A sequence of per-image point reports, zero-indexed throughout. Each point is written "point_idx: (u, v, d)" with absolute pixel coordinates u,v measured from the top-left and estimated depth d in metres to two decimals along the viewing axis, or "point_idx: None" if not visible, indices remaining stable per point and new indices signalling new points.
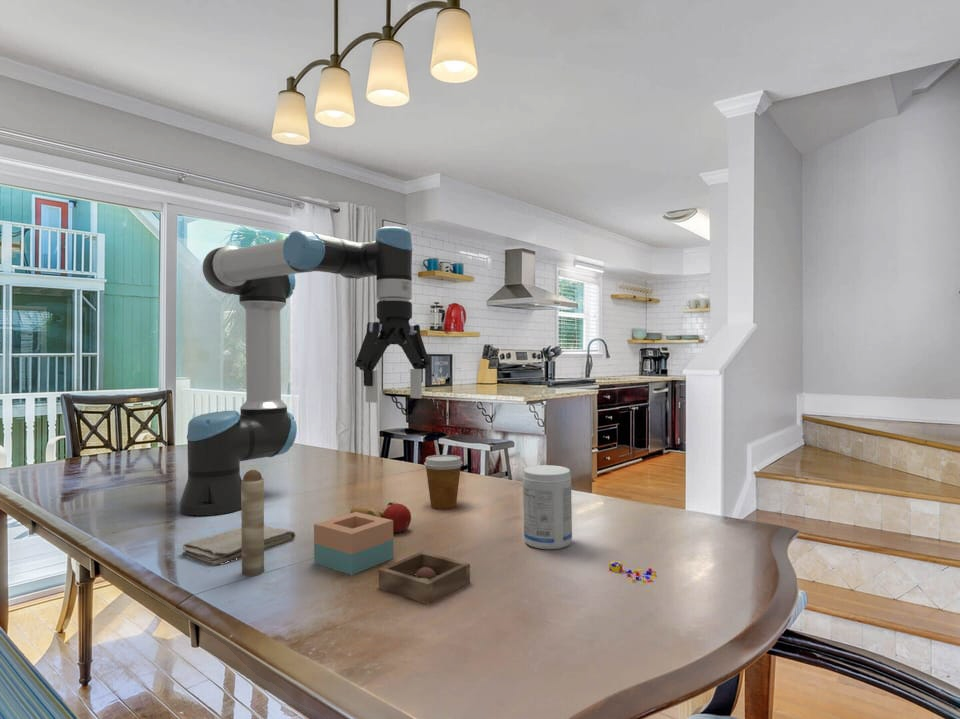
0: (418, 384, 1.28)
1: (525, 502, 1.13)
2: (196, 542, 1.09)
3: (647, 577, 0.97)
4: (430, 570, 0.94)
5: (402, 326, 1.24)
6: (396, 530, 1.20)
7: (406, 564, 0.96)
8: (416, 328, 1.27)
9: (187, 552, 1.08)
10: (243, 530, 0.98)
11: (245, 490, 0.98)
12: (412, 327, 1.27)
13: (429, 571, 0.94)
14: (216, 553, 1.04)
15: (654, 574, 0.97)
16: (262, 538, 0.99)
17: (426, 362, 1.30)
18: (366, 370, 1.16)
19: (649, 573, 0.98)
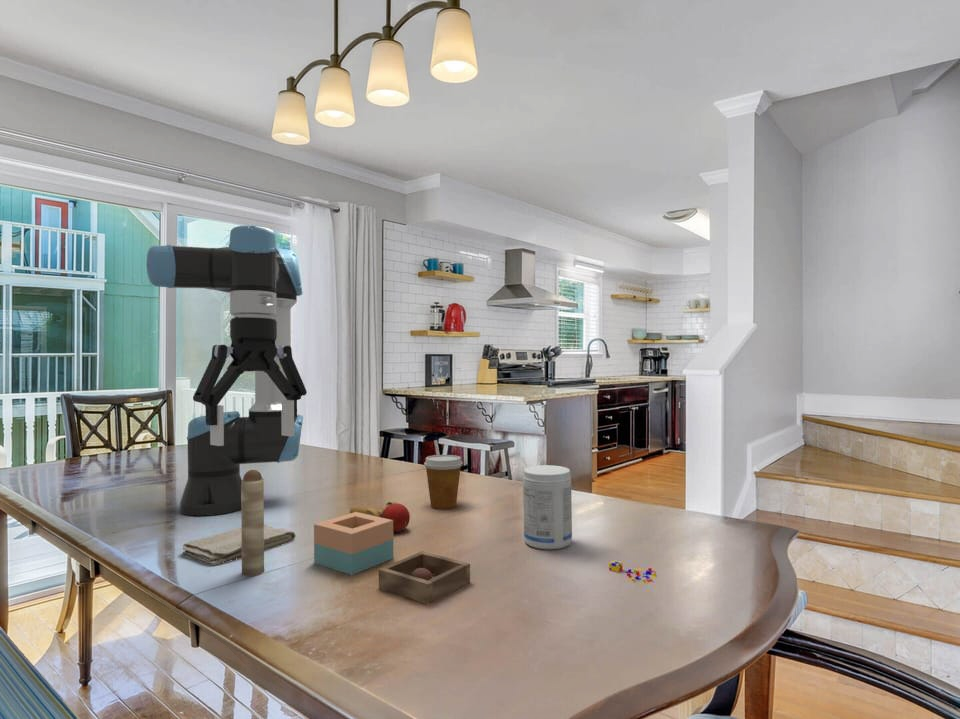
0: (289, 419, 1.04)
1: (525, 502, 1.13)
2: (196, 542, 1.09)
3: (647, 577, 0.97)
4: (426, 571, 0.94)
5: (264, 348, 1.00)
6: (395, 529, 1.21)
7: (406, 564, 0.96)
8: (287, 350, 1.04)
9: (187, 552, 1.08)
10: (243, 530, 0.98)
11: (244, 490, 0.98)
12: (281, 349, 1.04)
13: (425, 572, 0.94)
14: (215, 553, 1.04)
15: (654, 574, 0.97)
16: (262, 538, 0.99)
17: (301, 391, 1.06)
18: (208, 405, 0.93)
19: (649, 573, 0.98)
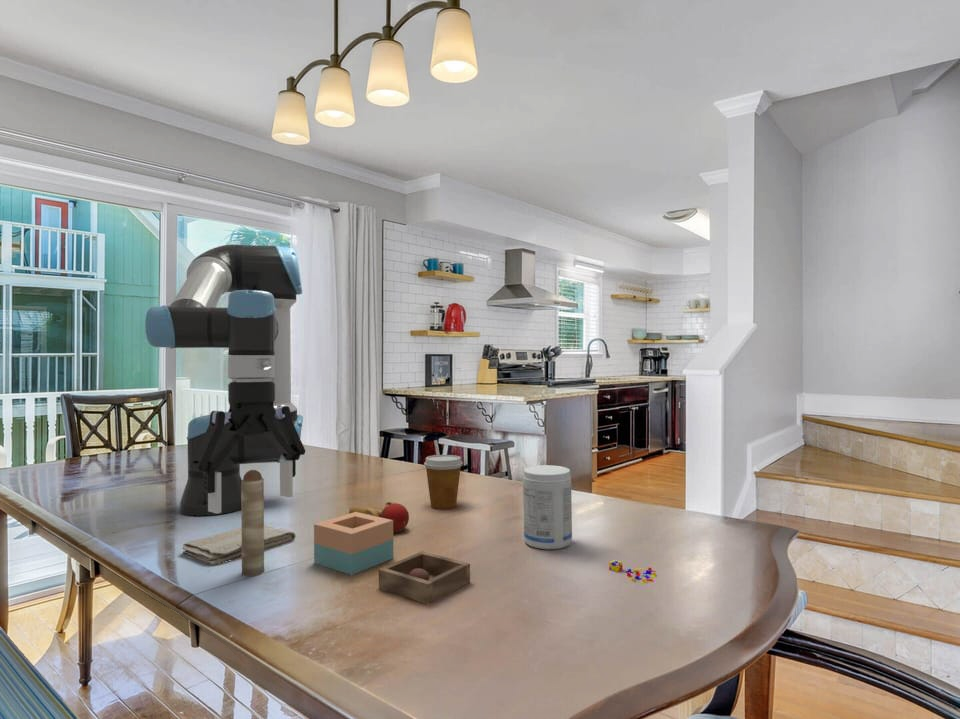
0: (288, 480, 1.04)
1: (525, 502, 1.13)
2: (196, 542, 1.09)
3: (647, 576, 0.97)
4: (423, 571, 0.94)
5: (262, 411, 1.00)
6: (394, 529, 1.21)
7: (406, 564, 0.96)
8: (285, 411, 1.03)
9: (187, 551, 1.08)
10: (243, 530, 0.98)
11: (244, 490, 0.98)
12: (279, 410, 1.03)
13: (423, 572, 0.94)
14: (214, 553, 1.04)
15: (654, 573, 0.97)
16: (262, 538, 0.99)
17: (300, 451, 1.06)
18: (205, 473, 0.92)
19: (649, 572, 0.98)
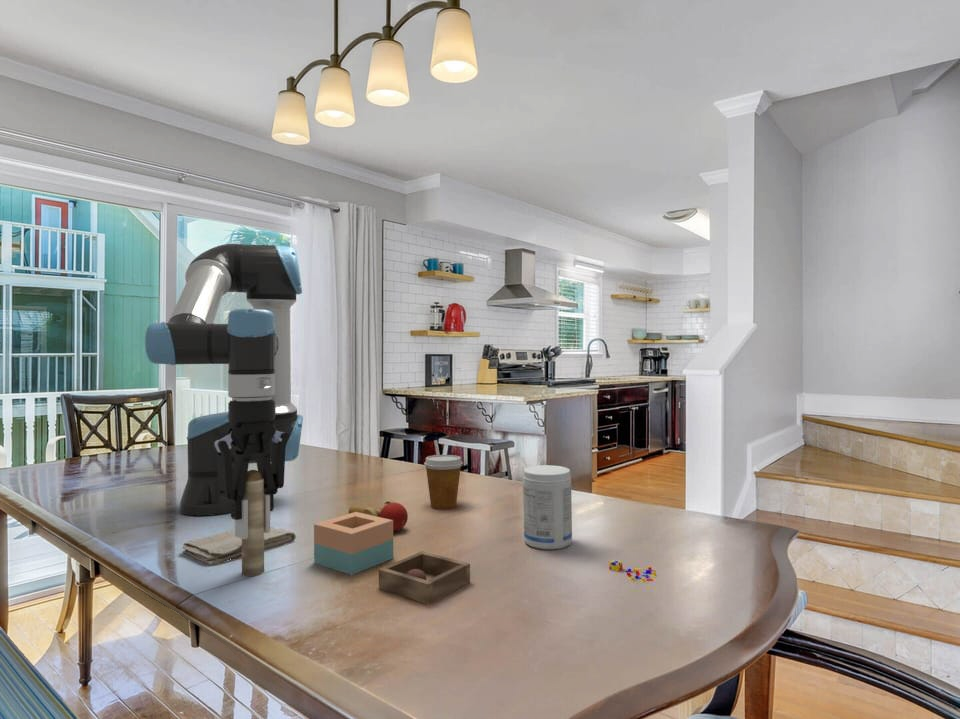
0: (265, 515, 1.00)
1: (525, 502, 1.13)
2: (196, 541, 1.10)
3: (647, 576, 0.97)
4: (420, 572, 0.94)
5: (264, 424, 1.00)
6: (393, 528, 1.21)
7: (406, 564, 0.96)
8: (284, 436, 1.03)
9: (186, 551, 1.08)
10: None
11: None
12: (279, 433, 1.03)
13: (420, 573, 0.93)
14: (212, 553, 1.04)
15: (654, 573, 0.98)
16: (262, 538, 0.99)
17: (279, 483, 1.03)
18: (233, 501, 0.96)
19: (649, 572, 0.98)
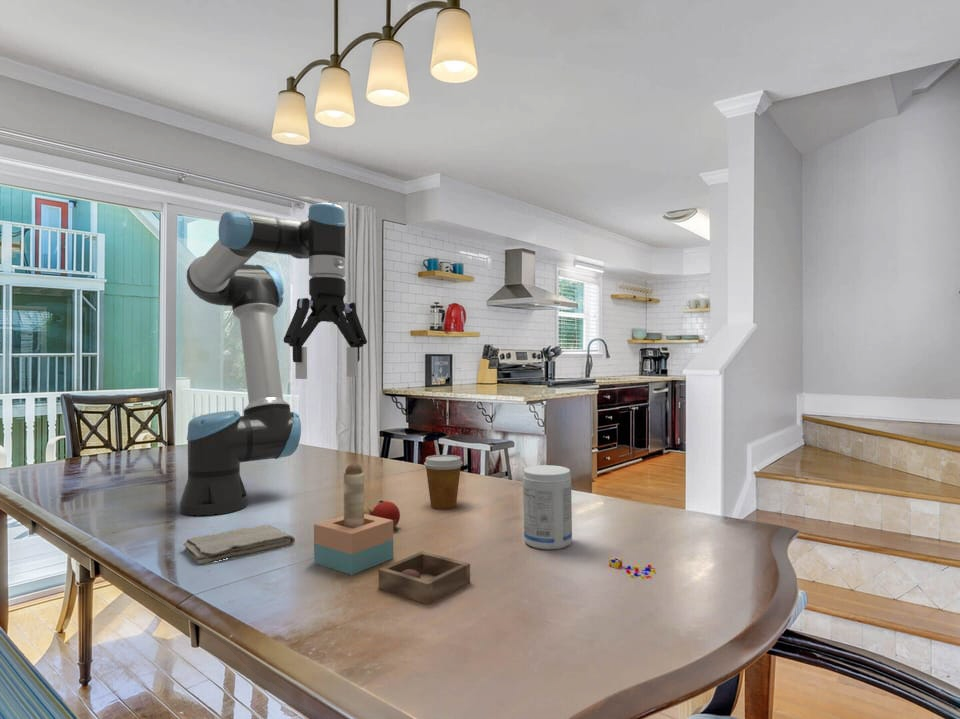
0: (354, 362, 1.27)
1: (525, 502, 1.13)
2: (197, 539, 1.11)
3: (646, 573, 0.98)
4: (415, 571, 0.94)
5: (335, 303, 1.23)
6: None
7: (406, 564, 0.96)
8: (352, 306, 1.27)
9: (187, 548, 1.10)
10: (346, 520, 1.04)
11: (348, 483, 1.03)
12: (347, 305, 1.27)
13: (415, 572, 0.94)
14: (202, 552, 1.04)
15: (653, 570, 0.99)
16: None
17: (363, 341, 1.29)
18: (295, 346, 1.16)
19: (648, 569, 0.99)
